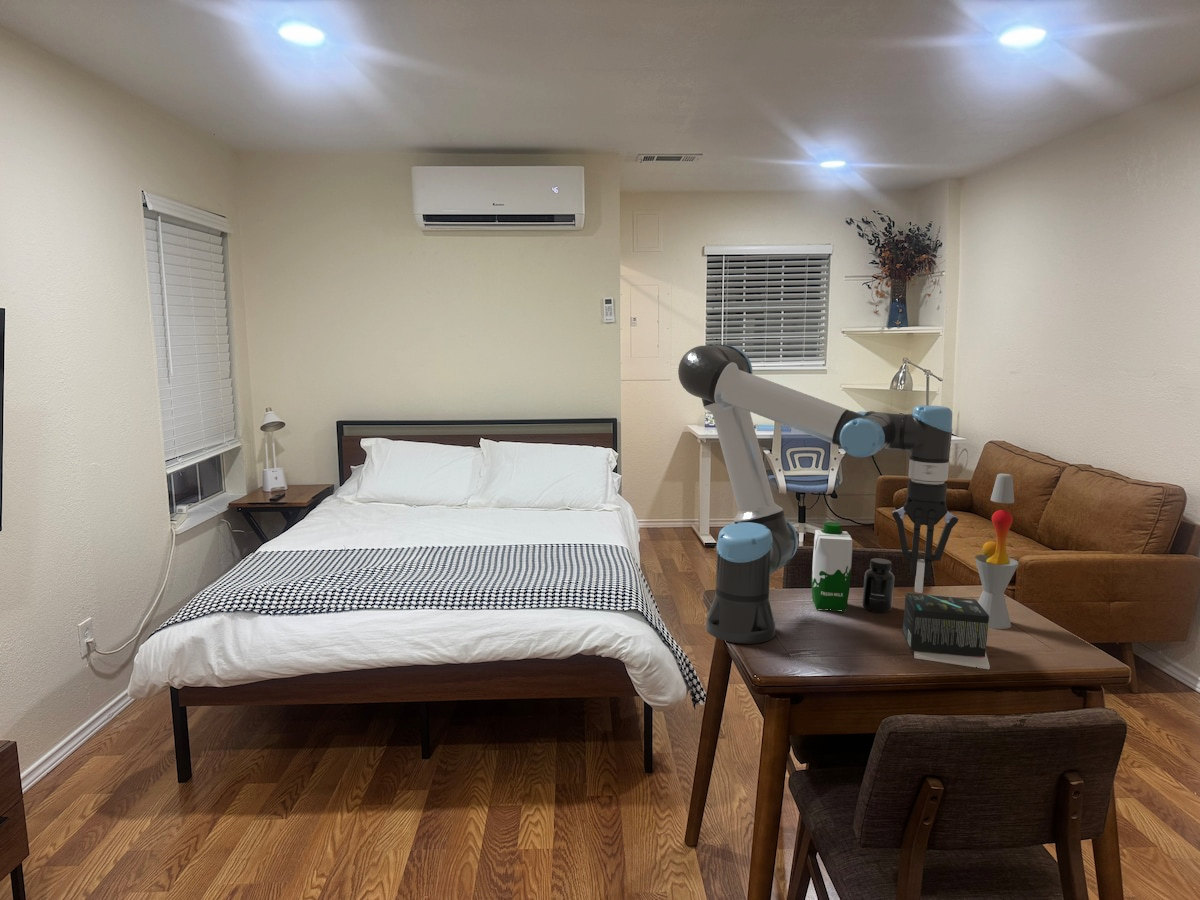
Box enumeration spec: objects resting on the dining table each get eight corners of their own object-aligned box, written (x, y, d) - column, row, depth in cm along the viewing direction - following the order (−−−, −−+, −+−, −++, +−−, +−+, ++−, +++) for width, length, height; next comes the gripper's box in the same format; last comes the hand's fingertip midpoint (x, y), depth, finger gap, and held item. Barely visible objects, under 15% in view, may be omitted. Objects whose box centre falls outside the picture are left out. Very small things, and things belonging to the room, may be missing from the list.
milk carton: (844, 601, 196) (849, 522, 193) (850, 613, 187) (856, 531, 184) (808, 598, 197) (812, 521, 194) (813, 611, 189) (818, 530, 186)
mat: (914, 658, 162) (914, 655, 162) (913, 635, 174) (913, 633, 174) (989, 669, 157) (989, 666, 157) (983, 645, 169) (983, 643, 169)
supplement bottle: (872, 614, 187) (876, 565, 185) (856, 604, 194) (859, 557, 192) (897, 612, 189) (901, 563, 187) (880, 602, 196) (884, 556, 194)
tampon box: (910, 651, 164) (985, 659, 161) (914, 608, 163) (990, 615, 160) (901, 632, 175) (972, 639, 172) (905, 591, 173) (976, 598, 170)
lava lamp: (1019, 623, 183) (1034, 475, 178) (1001, 632, 177) (1017, 479, 172) (980, 612, 190) (993, 469, 185) (962, 620, 184) (975, 473, 179)
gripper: (893, 481, 162) (885, 592, 165) (963, 486, 157) (953, 600, 161) (894, 475, 169) (885, 581, 172) (960, 480, 164) (951, 589, 168)
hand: (918, 590), depth 166 cm, fingers closed
